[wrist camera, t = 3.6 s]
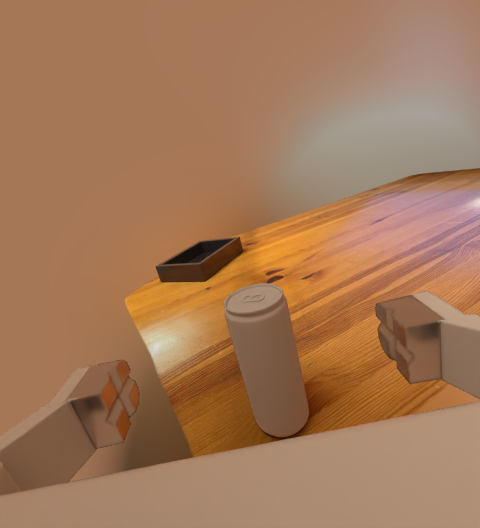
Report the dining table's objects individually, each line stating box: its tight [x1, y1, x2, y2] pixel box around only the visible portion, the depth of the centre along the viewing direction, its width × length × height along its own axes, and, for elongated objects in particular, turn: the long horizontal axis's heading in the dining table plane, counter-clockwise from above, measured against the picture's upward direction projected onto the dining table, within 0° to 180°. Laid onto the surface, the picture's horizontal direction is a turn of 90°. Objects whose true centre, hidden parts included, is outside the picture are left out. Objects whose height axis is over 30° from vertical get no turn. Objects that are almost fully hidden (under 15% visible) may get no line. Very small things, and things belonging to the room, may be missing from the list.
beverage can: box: [224, 284, 309, 437], centre depth 24 cm, size 5×5×12 cm
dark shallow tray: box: [156, 237, 243, 282], centre depth 73 cm, size 18×13×4 cm
